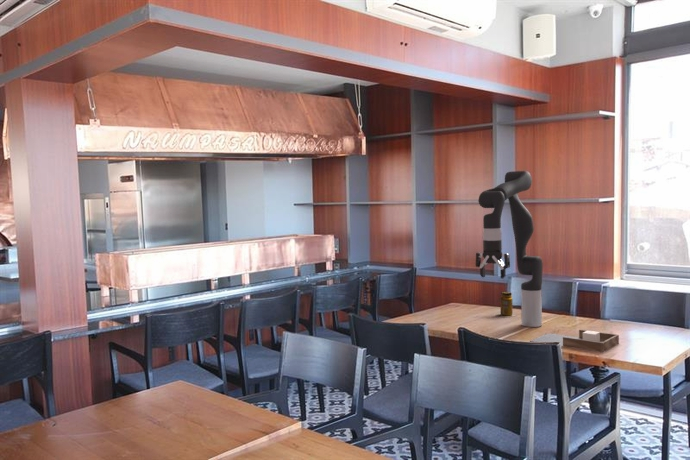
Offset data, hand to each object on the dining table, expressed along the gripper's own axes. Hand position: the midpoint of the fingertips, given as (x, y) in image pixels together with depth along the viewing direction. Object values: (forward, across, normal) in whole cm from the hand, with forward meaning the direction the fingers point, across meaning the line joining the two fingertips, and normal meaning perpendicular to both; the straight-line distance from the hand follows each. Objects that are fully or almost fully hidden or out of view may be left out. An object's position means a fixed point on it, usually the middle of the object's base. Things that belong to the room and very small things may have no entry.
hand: (492, 277), depth 246 cm
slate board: (+28, -28, -16) cm, 43 cm away
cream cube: (+27, -35, -16) cm, 47 cm away
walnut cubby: (+27, -35, -16) cm, 47 cm away
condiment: (+29, +19, -59) cm, 68 cm away
